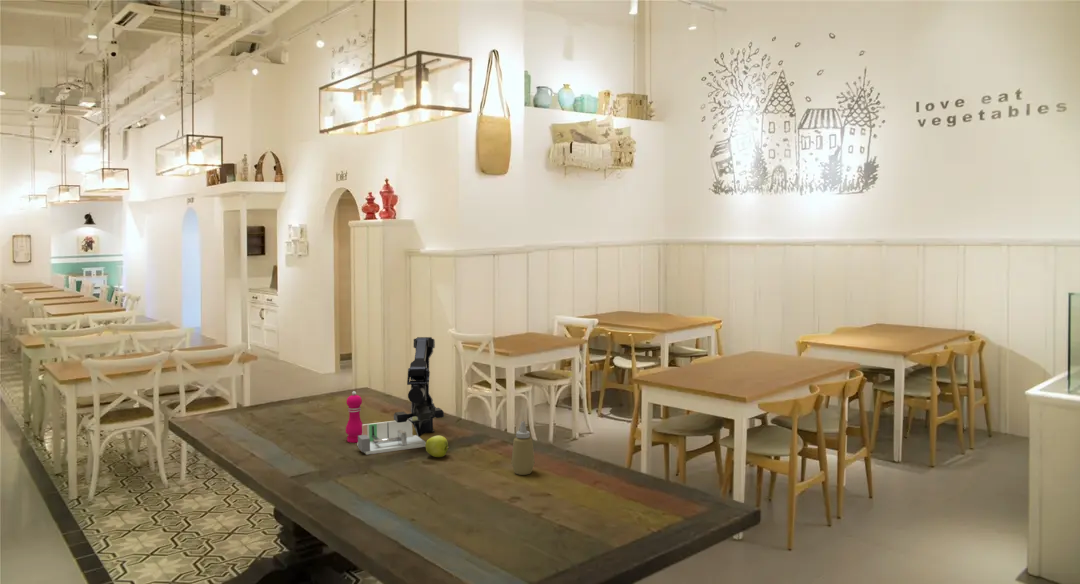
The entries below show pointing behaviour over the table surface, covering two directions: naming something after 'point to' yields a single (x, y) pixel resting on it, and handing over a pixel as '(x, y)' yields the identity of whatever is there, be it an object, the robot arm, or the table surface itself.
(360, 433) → the pepper mill
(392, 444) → the gauge base
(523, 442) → the squeeze bottle
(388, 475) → the table surface
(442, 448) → the apple
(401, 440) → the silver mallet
